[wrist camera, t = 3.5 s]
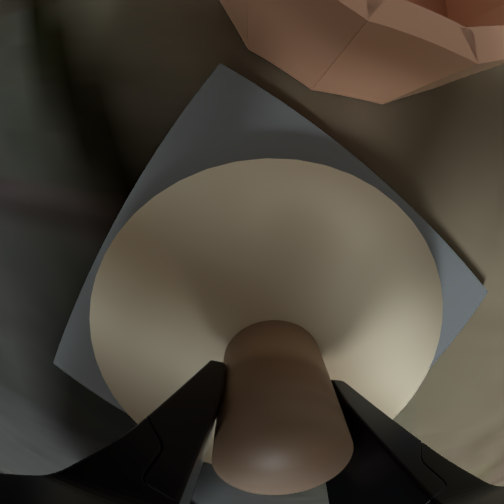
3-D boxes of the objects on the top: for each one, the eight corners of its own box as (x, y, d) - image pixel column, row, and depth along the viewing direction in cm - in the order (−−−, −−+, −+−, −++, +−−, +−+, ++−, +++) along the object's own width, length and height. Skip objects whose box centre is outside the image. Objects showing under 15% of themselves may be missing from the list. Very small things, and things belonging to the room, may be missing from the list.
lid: (294, 478, 12) (304, 559, 7) (64, 363, 10) (2, 440, 6) (476, 294, 10) (558, 352, 5) (222, 83, 8) (196, -3, 3)
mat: (294, 479, 13) (294, 484, 12) (57, 358, 11) (53, 363, 11) (482, 288, 10) (487, 291, 10) (221, 67, 8) (220, 62, 8)
